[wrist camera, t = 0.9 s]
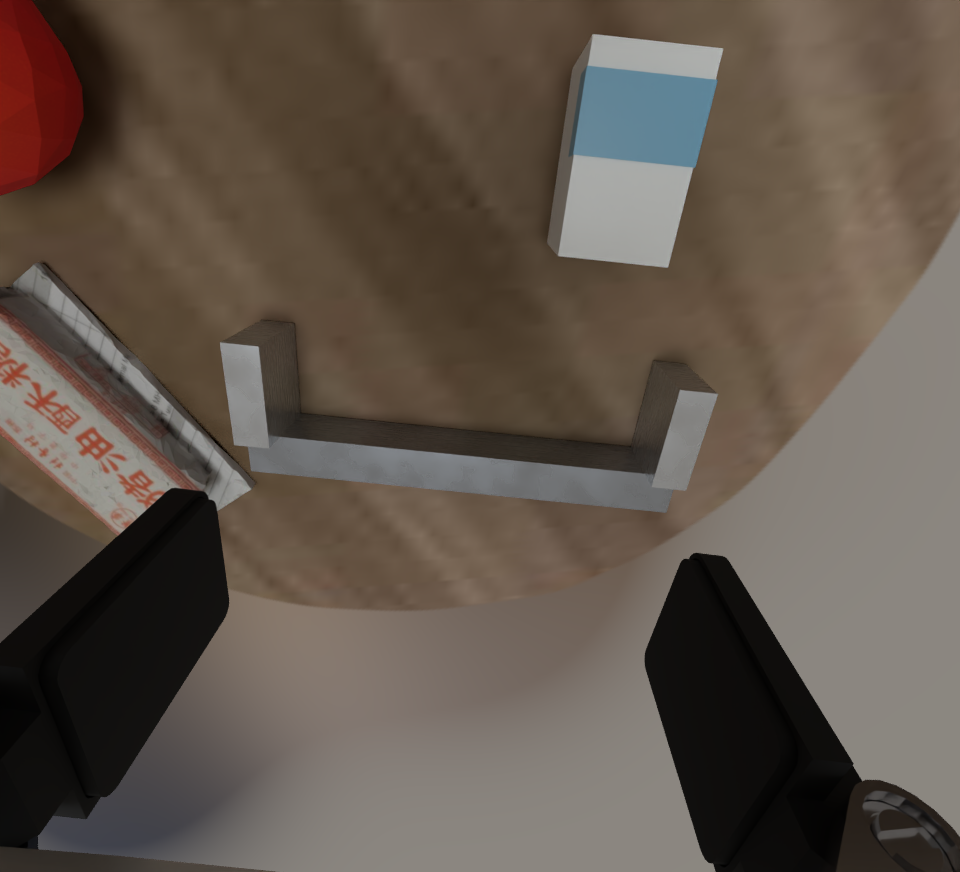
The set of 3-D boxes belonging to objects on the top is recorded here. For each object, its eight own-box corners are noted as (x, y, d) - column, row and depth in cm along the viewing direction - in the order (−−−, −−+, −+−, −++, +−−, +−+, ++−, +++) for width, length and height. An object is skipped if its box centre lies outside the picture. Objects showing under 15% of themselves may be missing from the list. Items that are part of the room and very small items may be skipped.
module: (571, 68, 24) (592, 32, 19) (674, 80, 24) (725, 48, 19) (545, 243, 28) (557, 256, 22) (636, 252, 28) (669, 268, 22)
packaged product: (-129, 370, 28) (-27, 270, 25) (-44, 346, 32) (50, 258, 29) (126, 582, 34) (229, 520, 32) (168, 538, 39) (261, 480, 36)
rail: (261, 319, 30) (220, 342, 26) (685, 363, 30) (717, 393, 26) (274, 444, 34) (239, 483, 29) (651, 483, 34) (673, 527, 30)
